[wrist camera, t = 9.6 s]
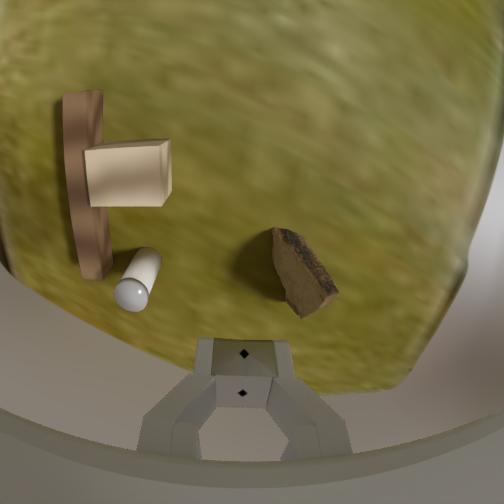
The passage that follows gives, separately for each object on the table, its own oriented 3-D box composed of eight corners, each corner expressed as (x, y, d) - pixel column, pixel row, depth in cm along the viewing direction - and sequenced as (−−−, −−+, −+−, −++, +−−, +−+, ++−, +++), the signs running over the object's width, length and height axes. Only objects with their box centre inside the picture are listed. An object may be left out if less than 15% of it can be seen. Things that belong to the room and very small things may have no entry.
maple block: (104, 142, 30) (84, 150, 25) (171, 138, 30) (159, 145, 26) (108, 191, 33) (90, 206, 28) (172, 190, 33) (161, 206, 29)
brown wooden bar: (80, 92, 26) (62, 94, 23) (103, 90, 26) (86, 90, 23) (94, 261, 37) (82, 278, 33) (113, 263, 37) (103, 280, 34)
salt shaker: (133, 245, 36) (111, 281, 29) (161, 247, 36) (144, 284, 29) (136, 271, 38) (116, 309, 31) (163, 273, 38) (148, 313, 31)
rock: (320, 321, 40) (360, 269, 34) (289, 356, 33) (335, 299, 28) (261, 272, 43) (291, 216, 38) (221, 296, 37) (251, 232, 31)
